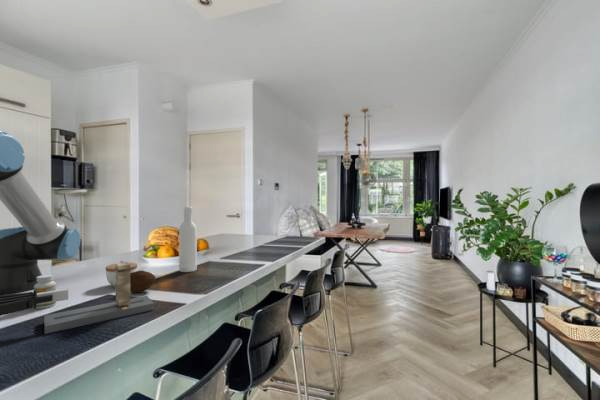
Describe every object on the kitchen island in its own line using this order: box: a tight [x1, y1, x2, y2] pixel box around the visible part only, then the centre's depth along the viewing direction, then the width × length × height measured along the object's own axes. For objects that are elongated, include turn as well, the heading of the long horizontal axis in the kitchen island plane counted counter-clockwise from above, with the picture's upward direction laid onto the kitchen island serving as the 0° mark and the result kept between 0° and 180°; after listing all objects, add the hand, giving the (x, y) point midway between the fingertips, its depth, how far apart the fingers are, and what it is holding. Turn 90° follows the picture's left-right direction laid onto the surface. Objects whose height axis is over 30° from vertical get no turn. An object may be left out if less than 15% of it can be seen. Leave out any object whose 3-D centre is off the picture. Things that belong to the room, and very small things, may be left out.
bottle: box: [178, 206, 198, 273], centre depth 143 cm, size 8×8×30 cm
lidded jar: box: [105, 260, 138, 288], centre depth 119 cm, size 11×11×9 cm
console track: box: [43, 295, 155, 335], centre depth 89 cm, size 26×9×2 cm, turn 131°
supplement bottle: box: [33, 274, 57, 310], centre depth 96 cm, size 5×5×10 cm
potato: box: [130, 270, 157, 293], centre depth 111 cm, size 7×10×8 cm
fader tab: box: [115, 261, 131, 307], centre depth 92 cm, size 3×5×12 cm, turn 41°
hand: (67, 294), depth 84 cm, fingers closed
